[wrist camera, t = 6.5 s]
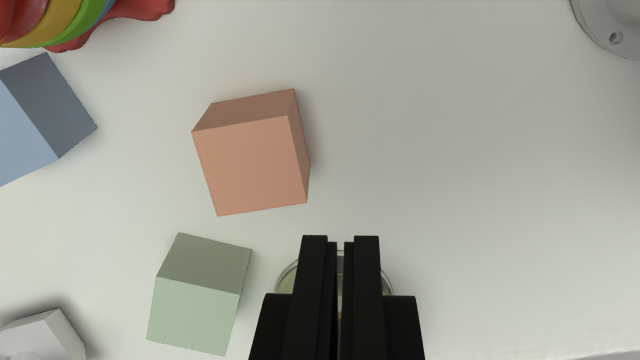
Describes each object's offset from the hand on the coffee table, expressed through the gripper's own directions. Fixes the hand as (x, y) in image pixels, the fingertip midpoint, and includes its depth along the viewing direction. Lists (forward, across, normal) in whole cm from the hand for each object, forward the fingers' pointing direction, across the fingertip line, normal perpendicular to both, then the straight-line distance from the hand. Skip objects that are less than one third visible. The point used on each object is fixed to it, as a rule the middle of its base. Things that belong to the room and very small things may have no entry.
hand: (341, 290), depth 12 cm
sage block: (+25, +12, +18) cm, 33 cm away
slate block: (+25, +22, +4) cm, 34 cm away
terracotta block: (+26, +7, +6) cm, 27 cm away
